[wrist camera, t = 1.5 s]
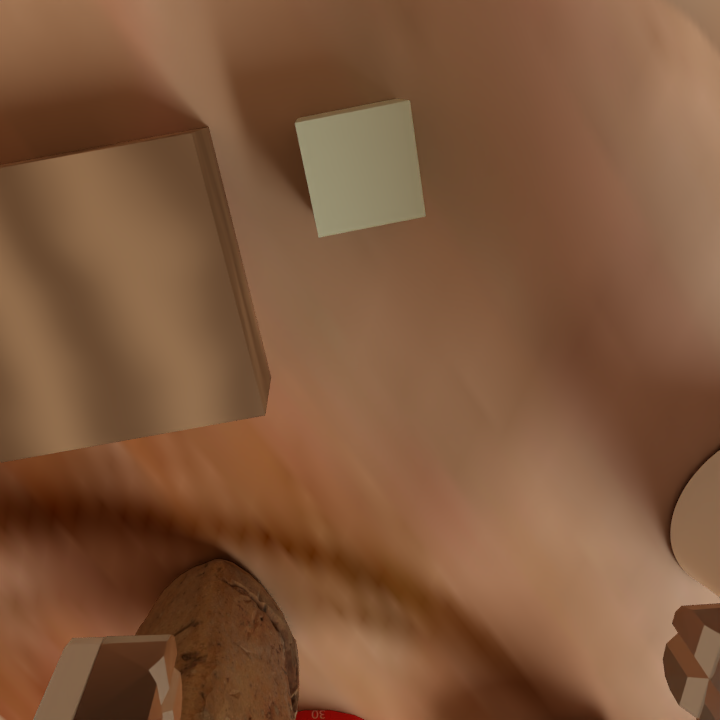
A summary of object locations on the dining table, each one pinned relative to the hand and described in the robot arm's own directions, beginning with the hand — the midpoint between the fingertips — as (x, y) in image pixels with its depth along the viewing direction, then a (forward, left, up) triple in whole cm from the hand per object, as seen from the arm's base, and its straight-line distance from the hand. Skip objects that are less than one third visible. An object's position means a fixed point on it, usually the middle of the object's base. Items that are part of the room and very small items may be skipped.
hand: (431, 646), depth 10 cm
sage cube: (-1, -5, -26) cm, 27 cm away
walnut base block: (+13, -1, -27) cm, 29 cm away
